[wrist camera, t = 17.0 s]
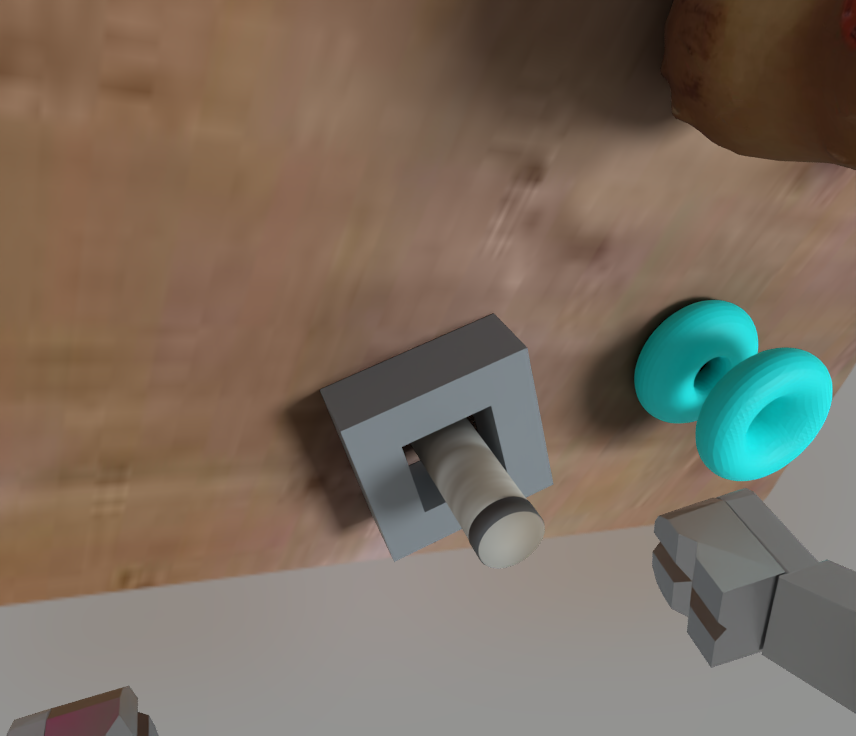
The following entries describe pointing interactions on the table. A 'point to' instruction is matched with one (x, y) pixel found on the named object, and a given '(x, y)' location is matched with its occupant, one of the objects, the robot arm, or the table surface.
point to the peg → (481, 495)
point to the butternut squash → (766, 76)
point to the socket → (438, 424)
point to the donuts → (732, 390)
